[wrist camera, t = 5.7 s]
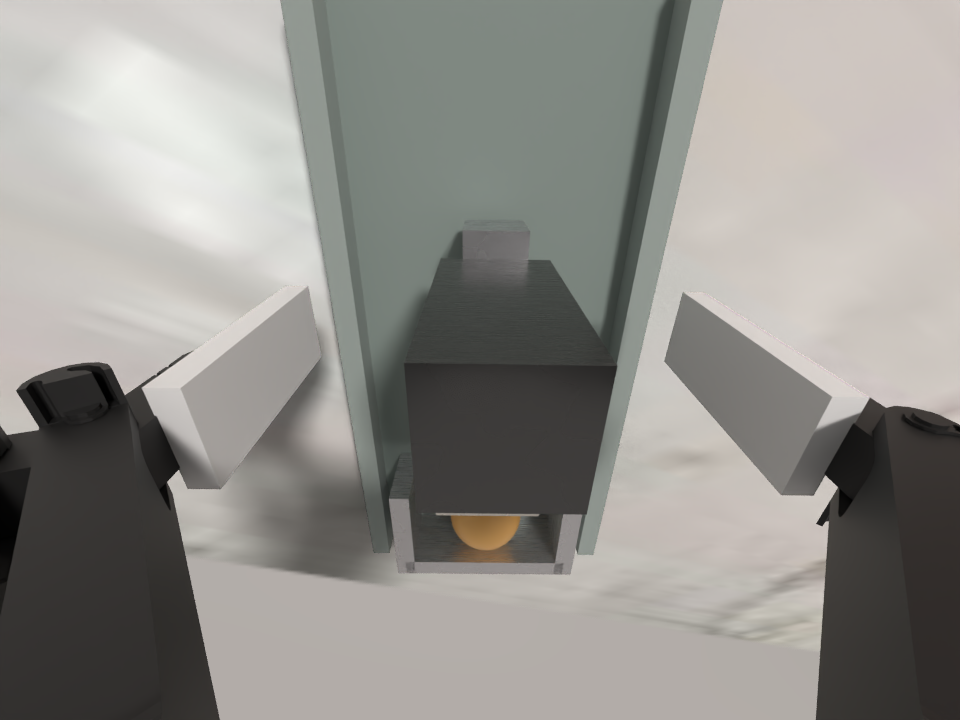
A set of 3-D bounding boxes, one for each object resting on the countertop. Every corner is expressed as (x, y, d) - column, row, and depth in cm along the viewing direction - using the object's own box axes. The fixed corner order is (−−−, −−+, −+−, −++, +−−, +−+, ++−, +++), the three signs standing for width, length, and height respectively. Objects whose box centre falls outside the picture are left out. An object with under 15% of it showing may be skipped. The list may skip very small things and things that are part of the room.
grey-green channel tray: (380, 526, 27) (373, 552, 25) (298, -27, 14) (271, -52, 12) (585, 528, 27) (593, 554, 25) (700, -17, 14) (732, -42, 12)
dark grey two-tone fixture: (442, 458, 23) (415, 685, 13) (434, 216, 16) (370, 311, 7) (529, 459, 23) (566, 686, 13) (553, 219, 17) (655, 316, 7)
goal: (409, 516, 26) (398, 572, 23) (402, 446, 24) (388, 498, 20) (558, 517, 27) (570, 574, 23) (569, 448, 24) (584, 501, 20)
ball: (447, 497, 20) (452, 462, 24) (448, 566, 21) (452, 521, 25) (526, 498, 20) (518, 463, 24) (523, 567, 21) (516, 522, 25)
